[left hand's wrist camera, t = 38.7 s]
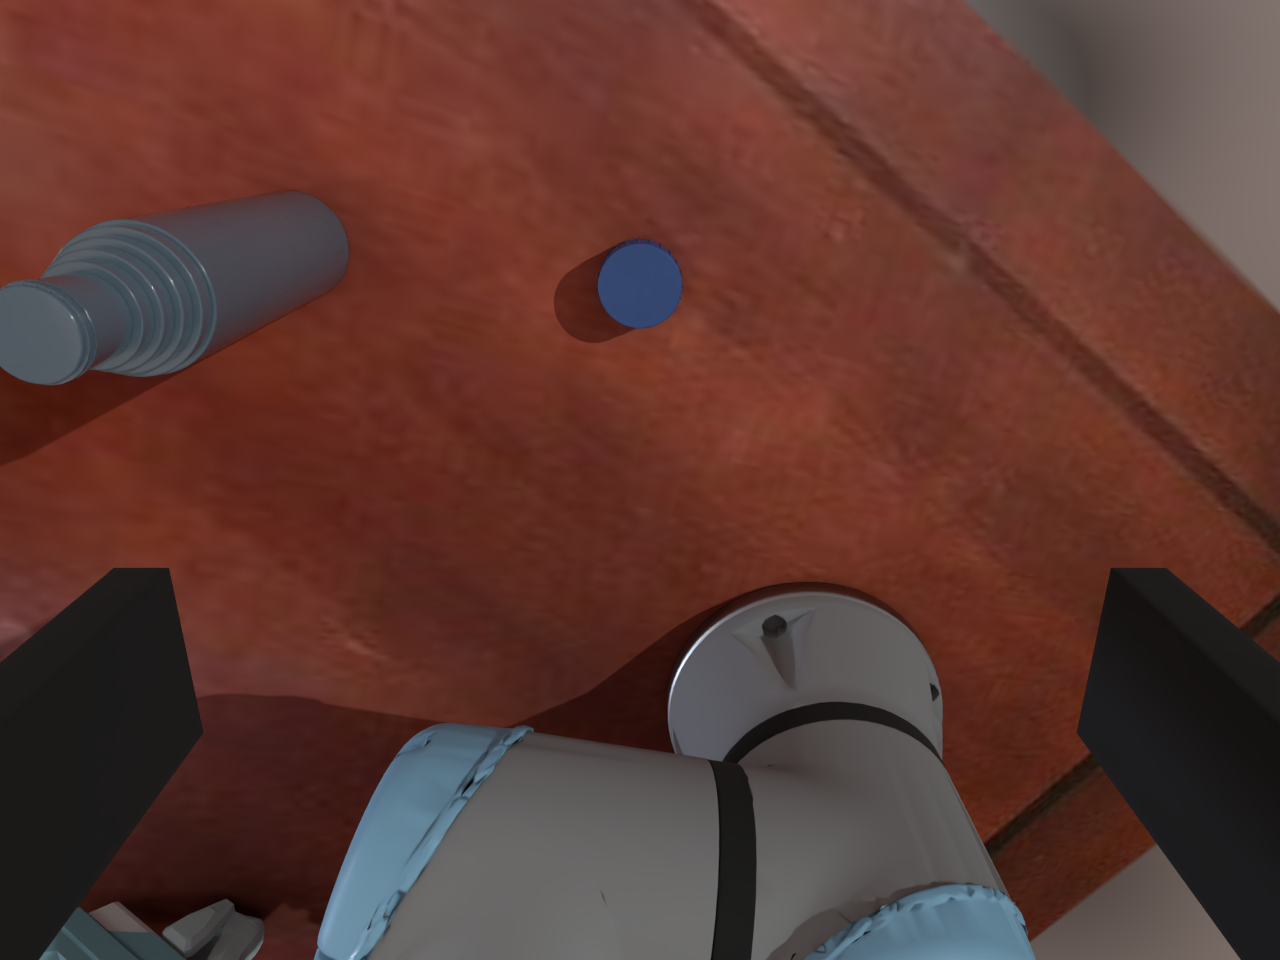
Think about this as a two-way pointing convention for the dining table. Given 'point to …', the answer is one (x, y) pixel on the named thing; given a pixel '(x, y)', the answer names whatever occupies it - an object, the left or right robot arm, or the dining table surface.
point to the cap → (640, 283)
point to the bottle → (170, 287)
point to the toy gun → (157, 936)
